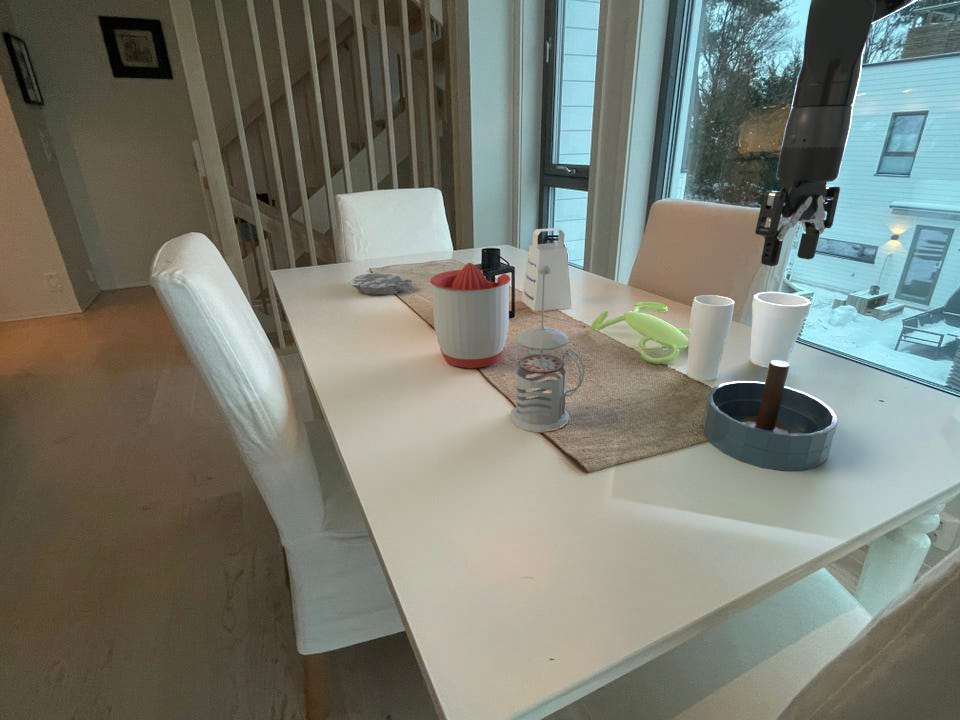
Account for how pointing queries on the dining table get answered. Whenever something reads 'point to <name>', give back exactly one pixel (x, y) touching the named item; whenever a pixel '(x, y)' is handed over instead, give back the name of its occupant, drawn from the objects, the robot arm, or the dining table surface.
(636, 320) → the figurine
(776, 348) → the foam cup
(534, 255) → the grater
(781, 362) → the stirring muddler
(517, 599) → the dining table surface
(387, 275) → the brain slice
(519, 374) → the french press
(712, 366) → the drinking glass
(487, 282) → the citrus juicer
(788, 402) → the bowl
